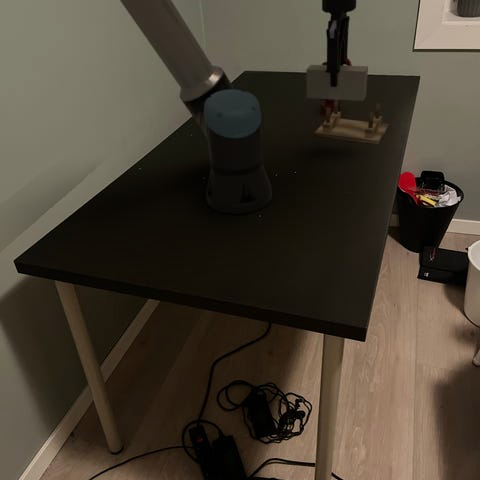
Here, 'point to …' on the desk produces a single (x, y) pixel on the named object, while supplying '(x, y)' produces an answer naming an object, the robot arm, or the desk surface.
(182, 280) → the desk surface
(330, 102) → the deodorant
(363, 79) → the grey rectangular block
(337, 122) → the rack
